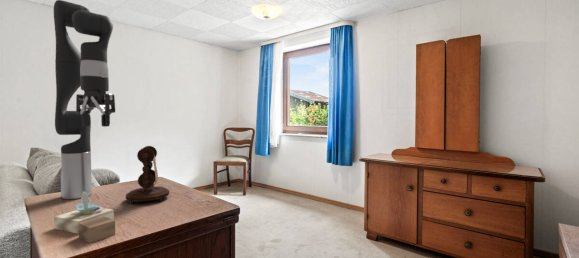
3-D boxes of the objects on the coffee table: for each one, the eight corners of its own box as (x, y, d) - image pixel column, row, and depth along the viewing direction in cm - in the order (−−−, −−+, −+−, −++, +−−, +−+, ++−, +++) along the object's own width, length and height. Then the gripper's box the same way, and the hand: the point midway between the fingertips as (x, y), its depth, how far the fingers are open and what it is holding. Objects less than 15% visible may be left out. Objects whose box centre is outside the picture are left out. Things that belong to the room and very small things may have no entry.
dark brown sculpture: (167, 203, 102) (166, 148, 101) (121, 207, 97) (119, 149, 96) (171, 192, 116) (170, 144, 115) (130, 195, 111) (129, 145, 110)
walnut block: (78, 238, 73) (78, 222, 73) (103, 230, 78) (103, 216, 78) (90, 243, 70) (89, 227, 70) (115, 235, 75) (115, 220, 75)
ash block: (54, 230, 78) (54, 216, 78) (90, 218, 88) (90, 205, 88) (79, 236, 75) (78, 221, 75) (114, 222, 84) (113, 209, 84)
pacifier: (97, 207, 87) (74, 211, 82) (97, 187, 87) (74, 190, 82) (106, 212, 82) (82, 217, 78) (106, 191, 82) (82, 194, 77)
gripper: (66, 75, 90) (68, 126, 90) (99, 73, 85) (101, 127, 86) (90, 78, 97) (91, 125, 97) (121, 76, 92) (122, 126, 93)
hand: (95, 126), depth 92 cm, fingers open, 8 cm apart
